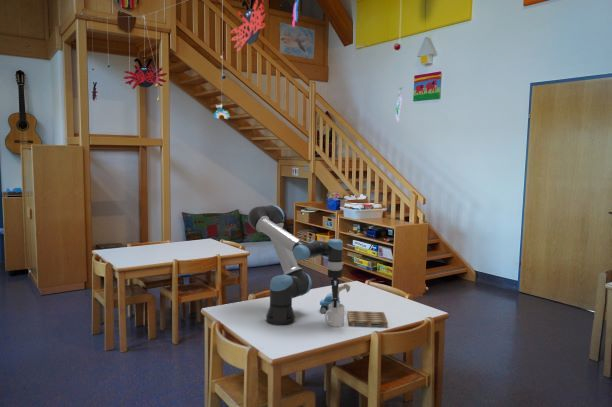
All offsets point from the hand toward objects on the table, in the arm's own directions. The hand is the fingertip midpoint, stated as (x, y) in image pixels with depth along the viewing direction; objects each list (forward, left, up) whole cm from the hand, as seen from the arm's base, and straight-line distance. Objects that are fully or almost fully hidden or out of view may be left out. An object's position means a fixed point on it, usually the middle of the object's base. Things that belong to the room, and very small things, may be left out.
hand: (334, 309), depth 256 cm
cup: (0, 0, -9) cm, 9 cm away
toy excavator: (+1, +21, -9) cm, 23 cm away
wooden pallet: (+18, +7, -8) cm, 21 cm away
